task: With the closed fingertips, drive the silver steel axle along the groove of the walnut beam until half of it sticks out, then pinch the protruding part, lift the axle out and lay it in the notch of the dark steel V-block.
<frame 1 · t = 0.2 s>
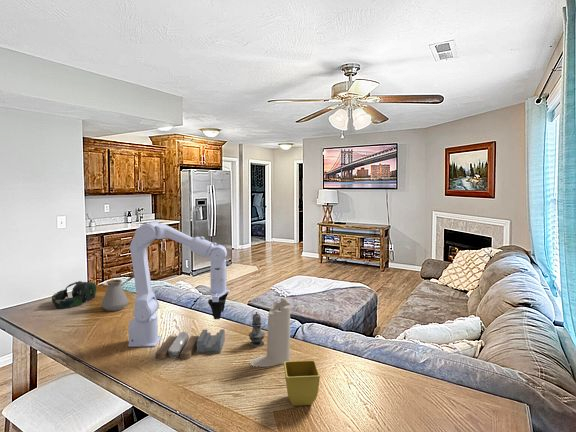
hand: (218, 315, 133), 10 cm above the table, tool pointing down, fingers open, 7 cm apart
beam: (178, 349, 127), on the table
coffee pot: (124, 305, 173), on the table
headphones: (76, 303, 177), on the table
flower pot: (301, 401, 97), on the table
axle: (178, 344, 127), point 2 cm above the table
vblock: (211, 346, 129), on the table
white boot: (269, 361, 119), on the table
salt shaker: (256, 344, 132), on the table
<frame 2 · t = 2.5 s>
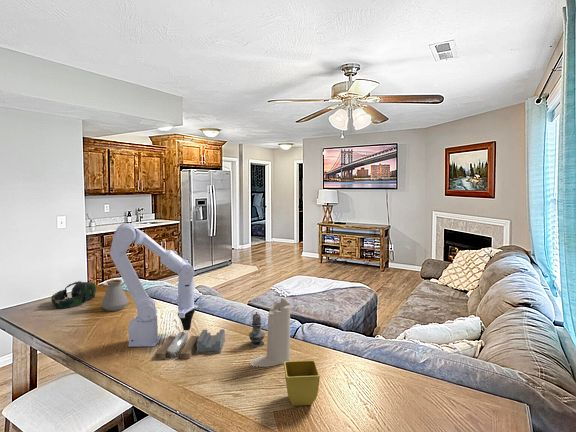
hand: (186, 329, 138), 2 cm above the table, tool pointing down, fingers closed
axle: (177, 344, 127), point 2 cm above the table, tilted 13°
everything else where it was.
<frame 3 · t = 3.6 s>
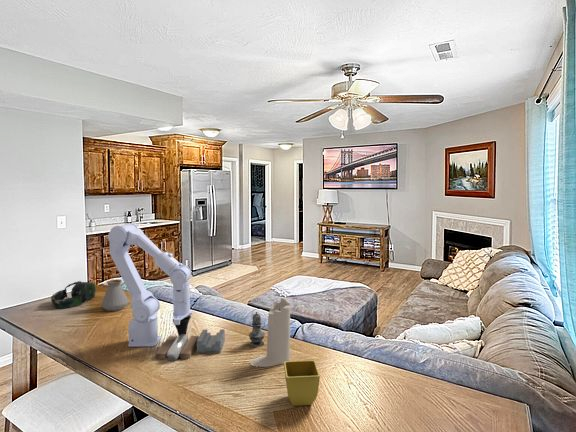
hand: (182, 336, 132), 2 cm above the table, tool pointing down, fingers closed
axle: (177, 346, 125), point 2 cm above the table, tilted 10°, touching gripper
everything else where it was.
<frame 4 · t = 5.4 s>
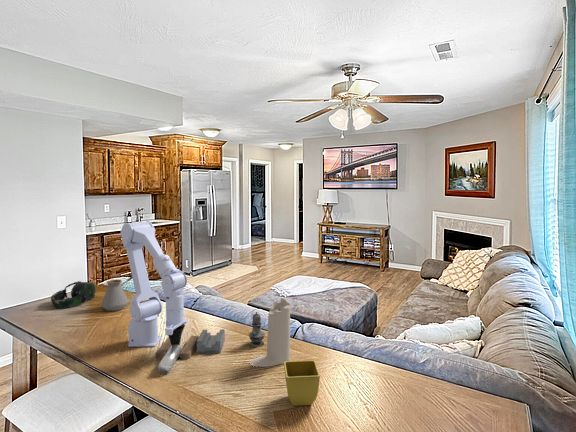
hand: (175, 347, 123), 2 cm above the table, tool pointing down, fingers closed
axle: (170, 358, 116), point 2 cm above the table, tilted 11°, touching gripper
everything else where it was.
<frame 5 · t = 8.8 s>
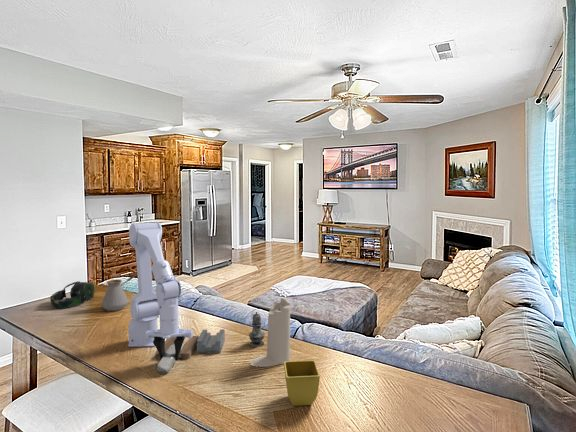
hand: (170, 359, 117), 1 cm above the table, tool pointing down, fingers closed on axle, 4 cm apart
axle: (169, 358, 116), point 2 cm above the table, touching gripper
everything else where it was.
when the fingers open (6 cm above the table, at t = 12.2 s): axle drops 1 cm, resting on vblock.
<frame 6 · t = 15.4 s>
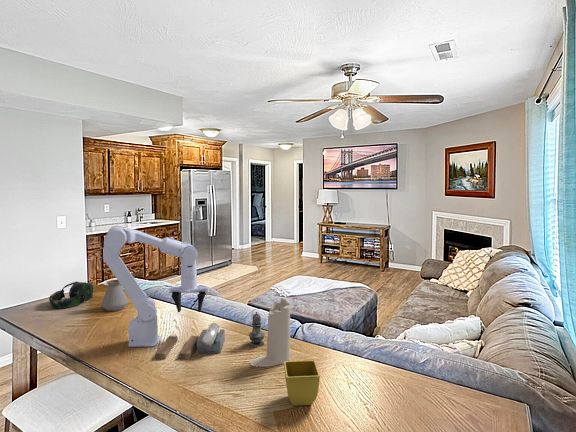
hand: (189, 311, 138), 9 cm above the table, tool pointing down, fingers open, 7 cm apart
axle: (210, 334, 128), point 5 cm above the table, touching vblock
at the end: axle 0.6 cm off-centre on the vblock, point 4.6 cm above the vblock's base; the gripper is holding nothing; axle touching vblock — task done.
